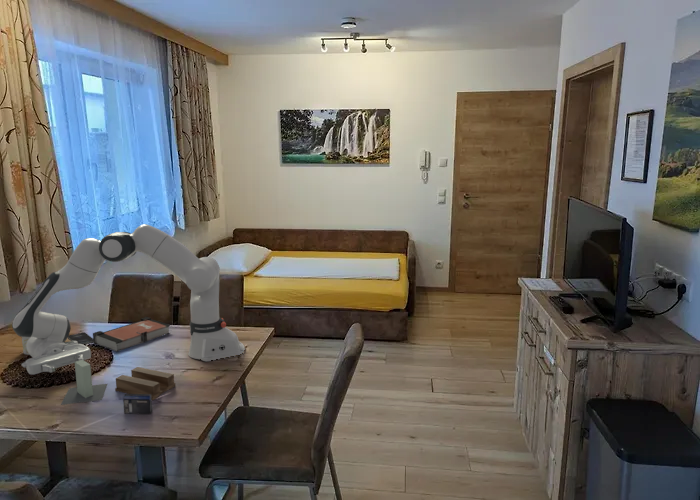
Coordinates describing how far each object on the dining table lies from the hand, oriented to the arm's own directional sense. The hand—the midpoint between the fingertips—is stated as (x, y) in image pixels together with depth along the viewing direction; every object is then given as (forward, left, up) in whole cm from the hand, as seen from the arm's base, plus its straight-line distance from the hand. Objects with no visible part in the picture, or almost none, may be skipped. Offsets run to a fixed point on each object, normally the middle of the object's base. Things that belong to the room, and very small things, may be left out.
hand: (67, 365), depth 169 cm
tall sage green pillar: (-7, +10, -6) cm, 14 cm away
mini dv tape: (-25, +27, -7) cm, 38 cm away
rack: (-26, +11, -7) cm, 29 cm away
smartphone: (+5, -46, -7) cm, 47 cm away
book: (-17, -41, -8) cm, 45 cm away
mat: (-7, +10, -7) cm, 14 cm away
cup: (+20, -37, -7) cm, 43 cm away
